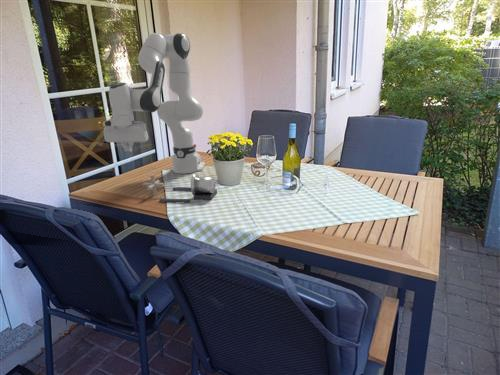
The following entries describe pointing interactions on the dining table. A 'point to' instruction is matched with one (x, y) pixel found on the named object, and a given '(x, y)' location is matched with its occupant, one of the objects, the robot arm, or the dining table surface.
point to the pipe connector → (153, 184)
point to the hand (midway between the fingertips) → (128, 151)
